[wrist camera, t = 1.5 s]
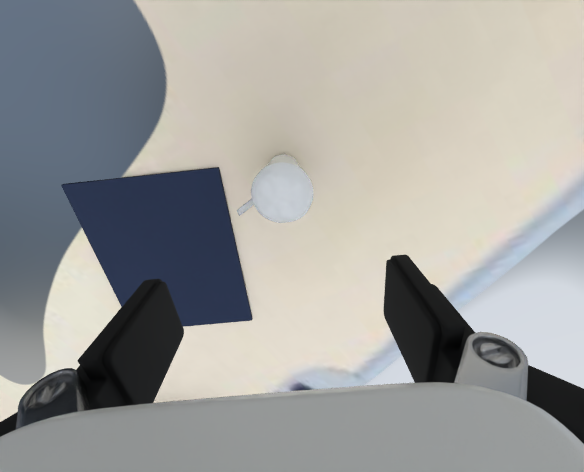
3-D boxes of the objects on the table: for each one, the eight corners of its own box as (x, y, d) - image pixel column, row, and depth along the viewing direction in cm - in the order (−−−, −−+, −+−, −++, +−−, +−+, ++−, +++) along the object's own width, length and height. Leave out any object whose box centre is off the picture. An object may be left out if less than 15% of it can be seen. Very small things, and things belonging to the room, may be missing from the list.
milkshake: (247, 154, 26) (226, 180, 17) (301, 141, 26) (308, 161, 17) (260, 197, 28) (247, 241, 19) (310, 186, 27) (321, 225, 19)
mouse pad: (63, 183, 27) (60, 185, 27) (218, 167, 26) (218, 168, 26) (135, 328, 36) (133, 331, 35) (252, 318, 35) (252, 320, 35)
